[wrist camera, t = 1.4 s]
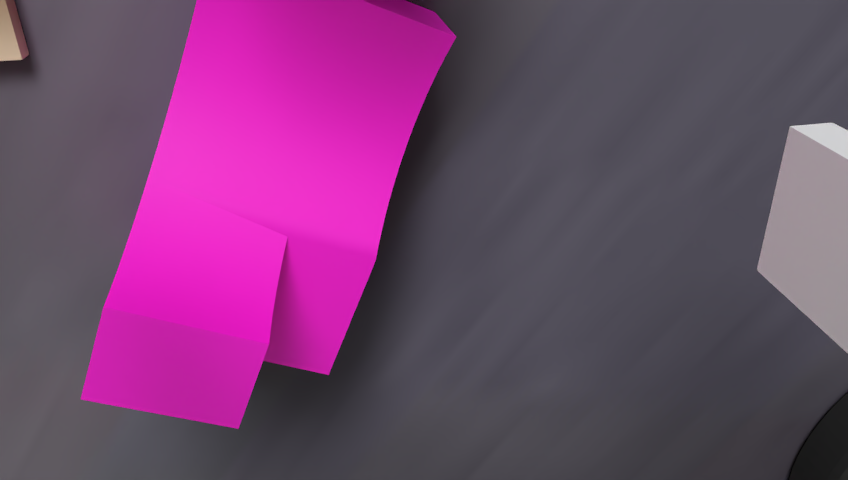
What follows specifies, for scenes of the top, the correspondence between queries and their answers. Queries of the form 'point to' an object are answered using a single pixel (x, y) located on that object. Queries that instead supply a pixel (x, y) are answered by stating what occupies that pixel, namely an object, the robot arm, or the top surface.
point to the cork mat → (11, 33)
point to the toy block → (262, 199)
